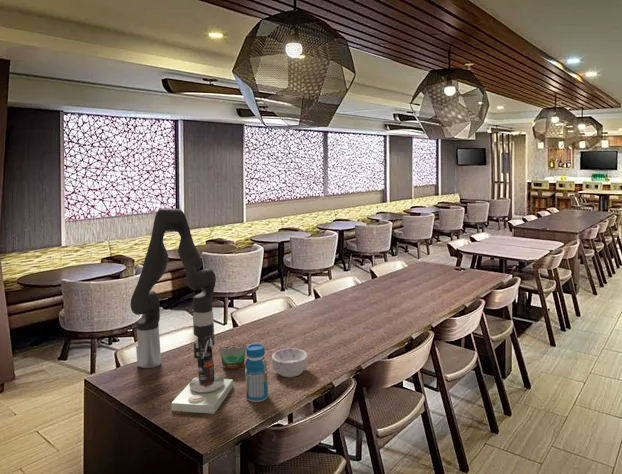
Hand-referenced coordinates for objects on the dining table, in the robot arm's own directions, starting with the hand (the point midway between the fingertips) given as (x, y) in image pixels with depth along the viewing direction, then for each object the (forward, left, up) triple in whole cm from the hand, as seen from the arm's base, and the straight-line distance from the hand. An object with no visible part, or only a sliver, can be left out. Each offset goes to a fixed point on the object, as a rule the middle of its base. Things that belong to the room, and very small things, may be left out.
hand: (205, 362), depth 180 cm
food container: (+3, +24, -13) cm, 27 cm away
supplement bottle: (0, 0, -8) cm, 8 cm away
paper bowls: (+28, +23, -13) cm, 38 cm away
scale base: (0, -4, -13) cm, 13 cm away
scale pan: (0, 0, -10) cm, 10 cm away
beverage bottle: (+20, -1, -13) cm, 24 cm away
